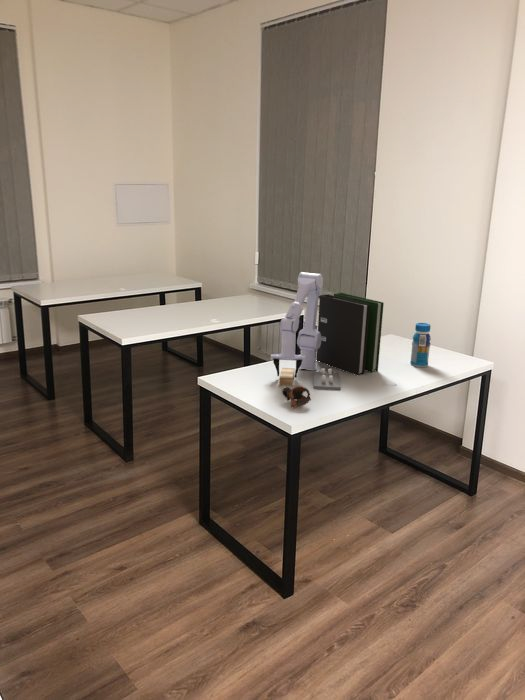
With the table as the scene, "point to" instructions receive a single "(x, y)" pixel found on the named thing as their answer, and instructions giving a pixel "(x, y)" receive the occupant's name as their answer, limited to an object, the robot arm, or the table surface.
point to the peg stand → (326, 380)
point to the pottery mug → (296, 395)
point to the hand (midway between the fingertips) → (287, 376)
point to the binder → (350, 332)
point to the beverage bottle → (421, 345)
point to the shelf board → (286, 376)
